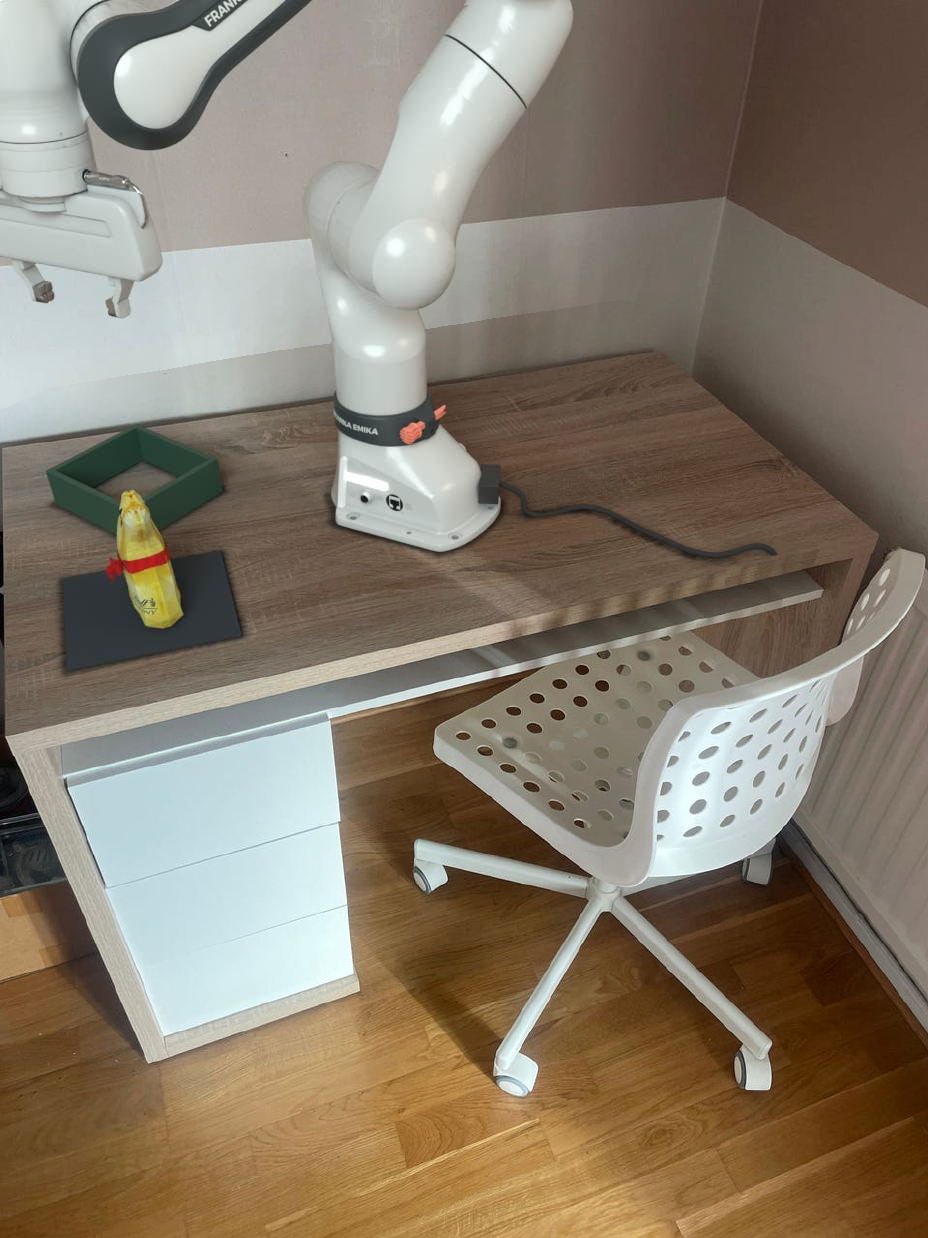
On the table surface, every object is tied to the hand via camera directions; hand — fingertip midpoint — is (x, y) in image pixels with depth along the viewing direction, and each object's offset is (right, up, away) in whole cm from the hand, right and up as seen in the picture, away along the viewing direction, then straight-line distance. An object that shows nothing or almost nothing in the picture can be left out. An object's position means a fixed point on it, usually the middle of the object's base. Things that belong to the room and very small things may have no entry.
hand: (81, 307), depth 100 cm
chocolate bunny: (+4, -31, +9) cm, 32 cm away
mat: (+4, -31, +9) cm, 32 cm away
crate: (-3, -16, +26) cm, 31 cm away
